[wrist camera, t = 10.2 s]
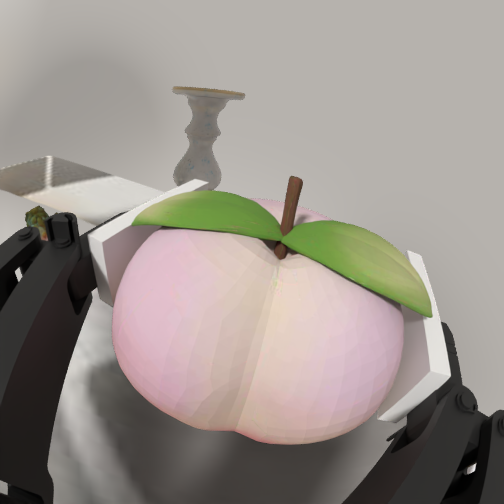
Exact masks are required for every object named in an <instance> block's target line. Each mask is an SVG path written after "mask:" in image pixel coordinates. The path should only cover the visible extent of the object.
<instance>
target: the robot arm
mask: <svg viewBox="0 0 504 504" xmlns="http://www.w3.org/2000/svg"><path fill="white" fill-rule="evenodd" d="M208 184H209V182H205V181H201V180H198V179H194V180H191V181H189V182H187V183H185V184H183V185H181V186H178V187H176V188H174V189H172V190H170V191H168V192H166V193H164V194H162V195H160V196H158V197H156V198H154V199H152V200H150V201H148V202H146V203H144V204H142V205H140V206H138V207H136V208H134V209H132V210H130V211H127V212H123V213H120V214H118V215H116V216H114V217H113V218H111V220H110V219H109V220H107V221H105V222H104V224H103V223H102V224H100V225H98V226H96V227H95V228H93V229H91V230H90V231H88V232H86V233H84V234H83V235H81V236H79V231H78V224H77V218H76V215H74V214H73V213H68V212H64V213H58V214H54V215H52V216H50V217H48V218H47V219H45V220H44V223H45V228H46V233H47V237H48V241H46V240H41V236H40V231H39V229H38V228H37V227H31V226H28V227H25V228H23V229H21V230H19V231H17V232H16V233H15V234H13V235H12V236H11V237H10V238H8V239H7V240H6V241H5V242H4V243H2V244H1V245H0V480H1V481H4V482H6V483H8V495H5V494H3V493H0V504H53V494H54V486H53V481H52V478H51V476H50V474H49V472H48V468H47V463H48V455H49V449H50V442H51V437H52V431H53V426H54V421H55V416H56V412H57V407H58V403H59V399H60V395H61V391H62V388H63V384H64V380H65V377H66V373H67V370H68V367H69V363H70V360H71V357H72V354H73V351H74V348H75V345H76V342H77V339H78V336H79V334H80V331H81V328H82V325H83V323H84V320H85V318H86V315H87V312H88V310H89V307H90V305H91V303H92V298H93V297H92V293H91V291H93V290H94V289H95V288H96V287H97V288H98V293H99V297H100V299H101V300H102V301H104V302H105V303H107V304H108V305H110V306H112V307H113V308H114V303H115V298H116V294H117V291H118V288H119V285H120V282H121V280H122V277H123V275H124V273H125V270H126V268H127V266H128V264H129V263H130V261H131V259H132V258H133V256H134V255H135V253H136V252H137V250H138V249H139V248H140V247H141V245H142V244H143V243H144V242H145V241H146V240H147V239H148V238H149V237H150V236H151V235H152V234H153V233H154V232H155V231H156V230H158V229H159V228H160V227H162V226H156V225H140V226H132V225H131V224H132V222H133V221H134V219H135V217H136V216H137V215H138V214H139V213H140V212H142V211H143V210H144V209H146V208H147V207H149V206H151V205H153V204H155V203H159V202H160V201H162V200H164V199H166V198H169V197H171V196H174V195H177V194H181V193H185V192H191V191H202V190H208ZM404 256H405V257H406V258H407V259H408V261H409V262H410V263H411V264H412V266H413V267H414V268H415V270H416V271H417V272H418V274H419V276H420V277H421V279H422V281H423V283H424V285H425V287H426V289H427V292H428V295H429V298H430V301H431V306H432V314H433V317H432V318H428V317H425V316H423V315H421V314H419V313H417V312H415V311H413V310H411V309H409V308H407V307H405V306H403V305H402V304H401V308H402V312H403V320H404V343H403V351H402V358H401V361H400V365H399V368H398V372H397V375H396V378H395V380H394V383H393V386H392V388H391V390H390V392H389V394H388V395H387V397H386V399H385V400H384V402H383V403H382V404H381V405H380V407H379V409H378V418H377V419H379V420H384V421H389V422H394V423H397V422H398V421H400V420H401V419H402V418H404V417H405V416H406V415H407V425H406V426H404V427H403V428H401V429H400V430H399V431H397V432H396V433H394V434H393V435H391V436H390V437H389V438H388V439H387V441H388V442H389V441H390V440H392V439H393V438H394V440H393V441H392V443H391V444H390V446H389V447H388V448H387V450H386V451H385V453H384V454H383V455H382V457H381V458H380V459H379V461H378V462H377V463H376V465H375V466H374V467H373V468H372V470H371V471H370V472H369V473H368V475H367V476H366V477H365V478H364V480H363V481H362V482H361V483H360V484H359V485H358V487H357V488H356V489H355V490H354V491H353V492H352V493H351V494H350V495H349V497H348V498H347V499H346V500H345V501H344V502H343V503H342V504H504V410H498V411H496V412H495V413H494V414H492V415H491V416H490V417H488V416H486V415H484V414H483V413H481V412H479V411H478V405H477V401H476V398H475V396H474V394H473V393H472V392H471V391H470V390H469V389H468V388H467V387H465V386H463V385H462V378H461V373H460V367H459V362H458V357H457V356H456V355H457V352H456V348H455V347H454V346H455V343H454V338H453V335H452V333H451V331H450V329H449V327H448V326H447V324H446V323H443V322H441V321H440V317H439V313H438V309H437V305H436V302H435V298H434V295H433V291H432V288H431V285H430V282H429V278H428V275H427V272H426V269H425V266H424V263H423V260H422V257H421V256H420V255H418V254H416V253H413V252H411V251H408V250H407V251H406V253H405V255H404ZM19 267H20V270H21V274H22V276H23V277H22V278H21V280H20V281H19V282H18V279H17V277H16V274H15V271H16V270H17V269H18V268H19ZM474 464H476V469H475V471H474V472H472V473H470V474H468V475H467V469H468V467H470V466H472V465H474Z"/></svg>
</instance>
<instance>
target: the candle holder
mask: <svg viewBox="0 0 504 504" xmlns="http://www.w3.org/2000/svg"><path fill="white" fill-rule="evenodd" d="M172 90H173V93H175V94H181V95H185V96H187V98H188V104H189V106H190V107H191V109H192V113H193V118H192V120H191V122H190V124H189V125H188V127H187V128H186V129H185V133H187V135H188V136H187V137H188V139H189V142H190V146H189V149H188V151H187V152H186V154H185V155H184V157H183V158H182V159H181V160H180V162H179V163H178V164H177V166H176V168H175V170H174V174H173V178H174V181H175V183H176V184H177V186H181V185H183V184H185V183H187V182H189V181H191V180H194V179H198V180H201V181H205V182H209V184H208V190H214V189H215V188H216V187H217V186H218V185H219V183H220V181H221V171H220V168H219V166H218V164H217V162H216V160H215V158H214V155H213V151H212V145H213V143H214V141H215V140H216V138H217V136H219V135H220V134H221V132H220V130H219V128H218V126H217V116H218V114H219V112H220V111H221V110H222V109H223V108H224V107H225V106H226V103H227V102H228V101H229V100H243V99H244V98H245V94H244V93H240V92H233V91H226V90H217V89H207V88H194V87H173V89H172Z"/></svg>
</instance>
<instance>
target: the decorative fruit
mask: <svg viewBox="0 0 504 504" xmlns="http://www.w3.org/2000/svg"><path fill="white" fill-rule="evenodd" d="M302 185H303V181H302V179H300V178H298V177H294V176H291V177H290V178H289V183H288V188H287V193H286V199H285V202H280V201H274V200H265V199H254V198H244V197H241V196H239V195H236V194H232V193H228V192H221V191H212V190H202V191H191V192H185V193H181V194H177V195H174V196H171V197H169V198H166V199H164V200H162V201H160V202H159V203H155V204H153V205H151V206H149V207H147V208H146V209H144V210H143V211H142V212H140V213H139V214H138V215H137V216H136V217H135V219H134V221H133V222H132V224H131V225H132V226H140V225H156V226H162V227H160V228H159V229H158V230H156V231H155V232H154V233H153V234H152V235H151V236H150V237H149V238H148V239H147V240H146V241H145V242H144V243H143V244H142V245H141V247H140V248H139V249H138V250H137V252H136V253H135V255H134V256H133V258H132V259H131V261H130V263H129V264H128V266H127V268H126V270H125V273H124V275H123V277H122V280H121V282H120V285H119V288H118V291H117V294H116V298H115V303H114V308H113V317H112V340H113V346H114V350H115V354H116V357H117V360H118V363H119V365H120V367H121V369H122V371H123V372H124V374H125V375H126V377H127V378H128V380H129V381H130V382H131V384H132V385H133V386H134V388H135V389H136V390H137V391H138V392H139V393H140V394H141V395H142V396H143V397H145V398H146V399H147V400H148V401H149V402H150V403H151V404H153V405H154V406H156V407H157V408H158V409H160V410H161V411H163V412H165V413H166V414H168V415H170V416H172V417H174V418H176V419H177V420H179V421H181V422H183V423H185V424H188V425H190V426H192V427H195V428H198V429H203V430H209V431H236V432H238V433H240V434H242V435H245V436H247V437H249V438H251V439H254V440H256V441H258V442H263V443H269V444H288V445H290V444H309V443H314V442H319V441H324V440H329V439H331V438H334V437H337V436H340V435H343V434H345V433H347V432H349V431H351V430H353V429H354V428H356V427H358V426H359V425H361V424H362V423H364V422H365V421H367V420H368V419H369V418H370V417H371V416H372V415H373V414H374V413H375V412H376V411H377V409H378V408H379V407H380V405H381V404H382V403H383V402H384V400H385V399H386V397H387V395H388V394H389V392H390V390H391V388H392V386H393V383H394V380H395V378H396V375H397V372H398V368H399V365H400V361H401V358H402V351H403V343H404V320H403V312H402V308H401V304H402V305H403V306H405V307H407V308H409V309H411V310H413V311H415V312H417V313H419V314H421V315H423V316H425V317H428V318H432V317H433V314H432V306H431V301H430V298H429V295H428V292H427V289H426V287H425V285H424V283H423V281H422V279H421V277H420V276H419V274H418V272H417V271H416V270H415V268H414V267H413V266H412V264H411V263H410V262H409V261H408V259H407V258H406V257H405V256H404V255H403V254H402V253H401V252H400V251H399V250H398V249H397V248H395V247H394V246H393V245H392V244H390V243H389V242H387V241H386V240H385V239H383V238H382V237H380V236H378V235H377V234H375V233H372V232H370V231H368V230H366V229H364V228H361V227H358V226H355V225H351V224H346V223H342V222H338V221H333V220H332V219H330V218H328V217H326V216H324V215H322V214H319V213H317V212H315V211H312V210H309V209H306V208H303V207H300V206H297V204H298V200H299V196H300V192H301V189H302Z"/></svg>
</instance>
